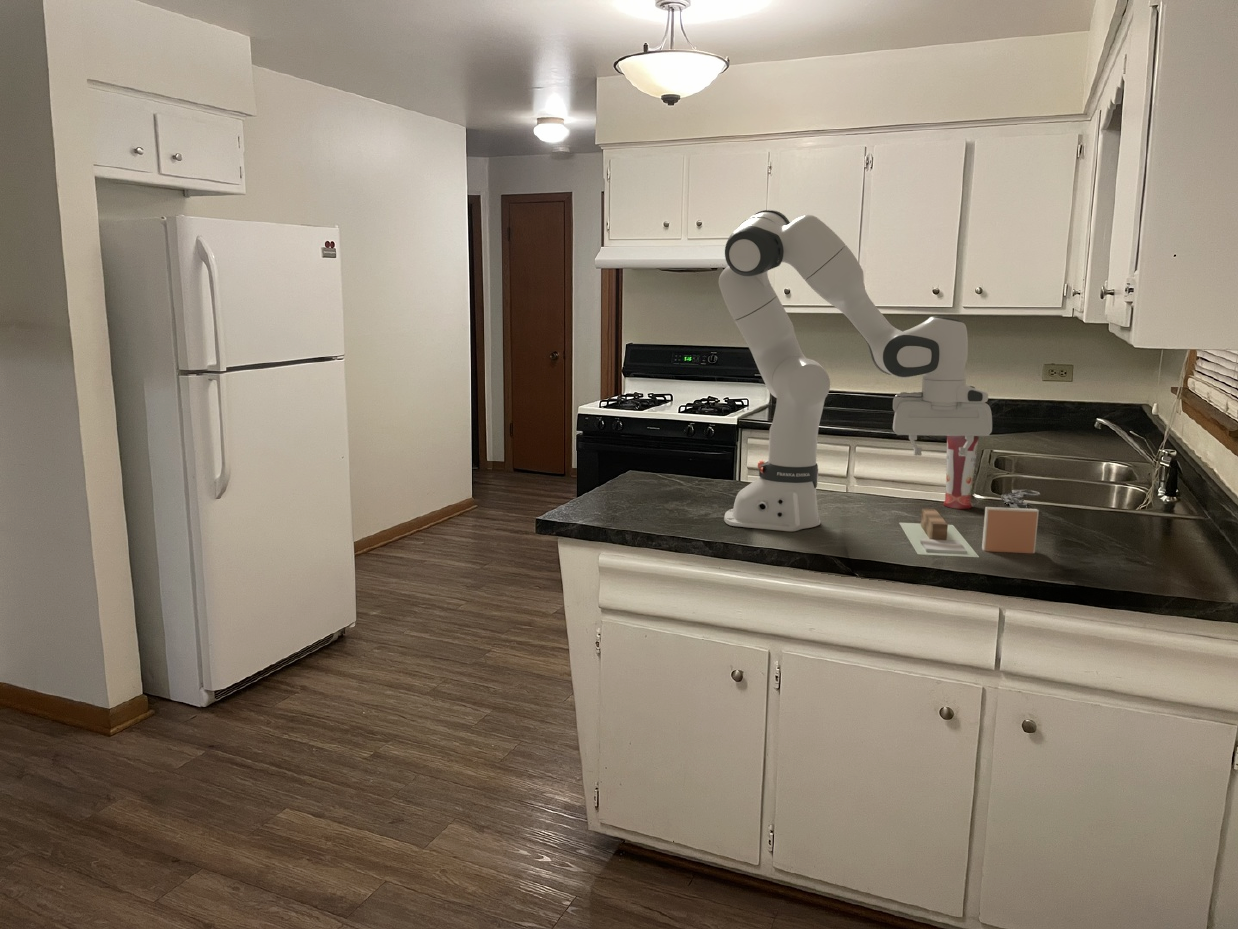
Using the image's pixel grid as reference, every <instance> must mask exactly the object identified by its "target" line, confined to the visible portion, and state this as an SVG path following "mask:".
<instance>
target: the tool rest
mask: <svg viewBox="0 0 1238 929" xmlns="http://www.w3.org/2000/svg"><path fill="white" fill-rule="evenodd" d="M898 524H899V525H900V527H901V528H902V530H903V532H904V533H905V535H906V538H907V539H908V541H909V542H910V544H911V546H912V547H913V549H914V550H915V552H916V554H917V555H920V556H921V555H926V556H941V557H942V556H943V557H945V556H946V557H966V558H980V556H979V555H978V554H977V552H976V551H975V550H974V549H973V547H972V546H971V545H970V544H969V543H968V541H967V540H966V539H965V538H964V537H963V535H962V534H961V533H960V532H959V531H958V529H957V528H956V527H955V526H954V525H953V524H948V528H947V540H957V541H960V543H961V544H962V545H963V547H964V548H965V549H966V550H967V554H959V553H938V552H926V551H925V549H924V548H923V546H922V544H921V543H920V539H929V537H928V536H927V534H926V533H925V531H924V530H923V528H922V527H921V522H920V523H917V522H916V523H914V522H899V523H898Z"/></svg>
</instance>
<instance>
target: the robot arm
mask: <svg viewBox="0 0 1238 929" xmlns="http://www.w3.org/2000/svg"><path fill="white" fill-rule="evenodd" d="M724 258H725V261H726V264H727V266H726V267H725V268H724V269H723V270H722V271H721V273H720V275H719V278H718V286H719V290H720V294H721V296H722V298H723V300H724V301H723V302H724V304H725V305H726V306H725V307H726V308H727V310H728V312H729V314H730V316H731V318H732V319H733V322H734V323H735V325H736V327H737V329H738V330H739V332H740V334H741V336H742V337H743V340H744V341H745V342H746V344H747V347H748V349H749V350H750V352H751V355H752V357H753V359H754V361H755V362H754V363H755V364H756V367H757V369H758V371H759V374H760V376H761V378H762V380H763V382H764V384H765V387H766V388H767V390H768V391H769V393H770V394H771V395H772V396H773V397H774V398H776V403H775V409H774V415H773V418H772V419H773V420H772V423H771V425H770V427H769V433H768V434H769V436H768V438H769V439H768V459H767V461H764V460H759V462H757V468H758V475H759V476H758V478H757V479H755V480H754V481H751V483H749V484H748V485H746V486H745V487H743V488H742V489H740V490H739V491H738V493H737V494H736V497H735V500H734V502H733V503H734V504H733V508H731V509H728V510H727V511H725V513H724V517H723V521H724V522H725V523H726V524H727V525H729V526H731V527H732V526H733V527H739V528H740V527H743V528H752V529H762V530H772V531H781V532H782V531H783V532H797V531H800V530H803V529H810V528H814V527H817V526H819V525H820V524H821V519H820V515H819V510H818V502H817V501H818V499H817V487H818V483H819V482H818V481H819V465H818V463H817V457H818V456H817V453H818V452H817V451H818V435H819V428H820V422H821V418H822V415H823V410H824V406H825V401H826V398H827V397H828V394H829V392H830V389H831V380H830V376H829V374H828V372H827V371H826V370H825V368H824V367H823V366H822V365H821V364H820V363H819V362H818V361H816V360H814V359H811V358H807V357H806V356H805V355H804V353H803V351H802V349H801V347H800V343H799V342H798V339H797V336H796V332H795V327H794V324H793V322H792V321H791V318H790V317H789V314H788V313H787V311H786V309H785V308H784V305H783V304H782V302H781V301H780V298H779V296H778V294H777V293H776V291H775V290H774V288H773V286H772V284H771V281H770V280H769V277H768V272H769V270H770V271H771V270H773V269H775V268H778V267H780V266H781V264H782V263H785V264H788V265H790V266H791V267H792V268H794V269H795V271H797V273H798V274H799V275H800V276H801V277H802V279H803V280H804V281H805V283H806V284H807V285H808V286H809V287H810V288H811V289H812V290H813V291H814V292H815V293H816V294H817V295H818V296H820V297H821V298H822V299H823V300H825V301H826V302H827V303H829V305H831V306H833V307H835V308H836V309H837V310H839V311H840V312H841V313H842V314H843V315H844V316H845V317H846V318H847V320H849V322H850V324H852V326H853V327H854V328H855V329H856V330H857V332H858V333H859V334H860V335H861V337H862V338H863V339H864V341H865V342H866V343H867V346H868V348H869V349H868V350H869V353H870V358H871V360H872V363H873V364H874V366H875V367H876V369H877V370H879V371H880V372H881V373H884V374H885V375H888V376H894V377H896V378H901V379H906V378H912V377H916V376H921V375H922V379H921V380H922V382H921V383H922V384H921V385H922V386H921V392H920V391H918V392H915V391H913V392H906V391H903V392H900V393H899V394H896V395H895V396H894V397H893V399H892V410H893V412H894V416H893V421H892V422H893V423H892V430H893V432H894V433H895V434H896V435H897V436H908V440H909V441H910V443H911V445H912V447H913V456H922V451H923V448H922V446H918V445H917V443H916V441H917V440H918V436H946V437H947V436H965V439H966V440H967V441H966V443H965V445H964V446H963V447H959V456H967V450H968V448H969V447H970V445H971V444H972V442H973V441H974V436H979V437H988V436H990V434H992V432H993V415H992V410H991V407H990V405H989V404H988V403H987V402H988V400H989V394H988V392H987V391H985V390H983V389H979V388H976V386H973V385H967V376H966V375H967V374H966V370H965V369H966V364H967V361H968V352H969V351H968V350H969V349H968V348H969V342H968V340H969V339H968V329H967V326H966V324H965V323H964V322H963V321H962V320H960V319H958V318H954V317H953V318H952V317H947V316H940V315H933V316H930V317H929V318H927V319H926V320H924V321H923V322H921V323H919V324H917V325H916V326H913V327H911V328H909V329H906V330H902V329H899V328H897V327H896V326H893V324H891V323H890V322H889V321H888V319H886V317H885V316H884V314H883V313H882V312H881V311H880V309H878V307H877V306H876V305H875V303H874V302H873V301H872V299H871V298H870V297H869V295H868V293H867V290H866V287H865V281H864V278H865V274H864V270H863V268H862V266H861V265H860V262H859V261H858V259H857V258H856V256H855V254H854V253H853V252H852V250H851V249H850V248H849V246H848V245H846V243H845V242H844V241H843V239H841V238H840V236H838V235H837V233H836V232H835V231H834V230H832V229H831V227H830V226H828V225H827V224H825V222H823V220H821V219H820V218H818V217H816V216H815V215H813V214H807V215H806V214H805V215H802V216H799V217H797V218H795V219H793V220H792V221H791V222H790V220H789V219H788V217H786V215H785V214H783V213H781V212H780V211H778V210H774V209H765V210H760V211H758V212H755V213H754V214H753V215H752V216H750V217H748V218H747V219H745V220H744V221H742V222H741V223H740V224H739V226H738V227H737V228H736V229H735V230H734V231H732V233H731V234H730V235H729V237H728V238H727V241H726V243H725V246H724Z"/></svg>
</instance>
